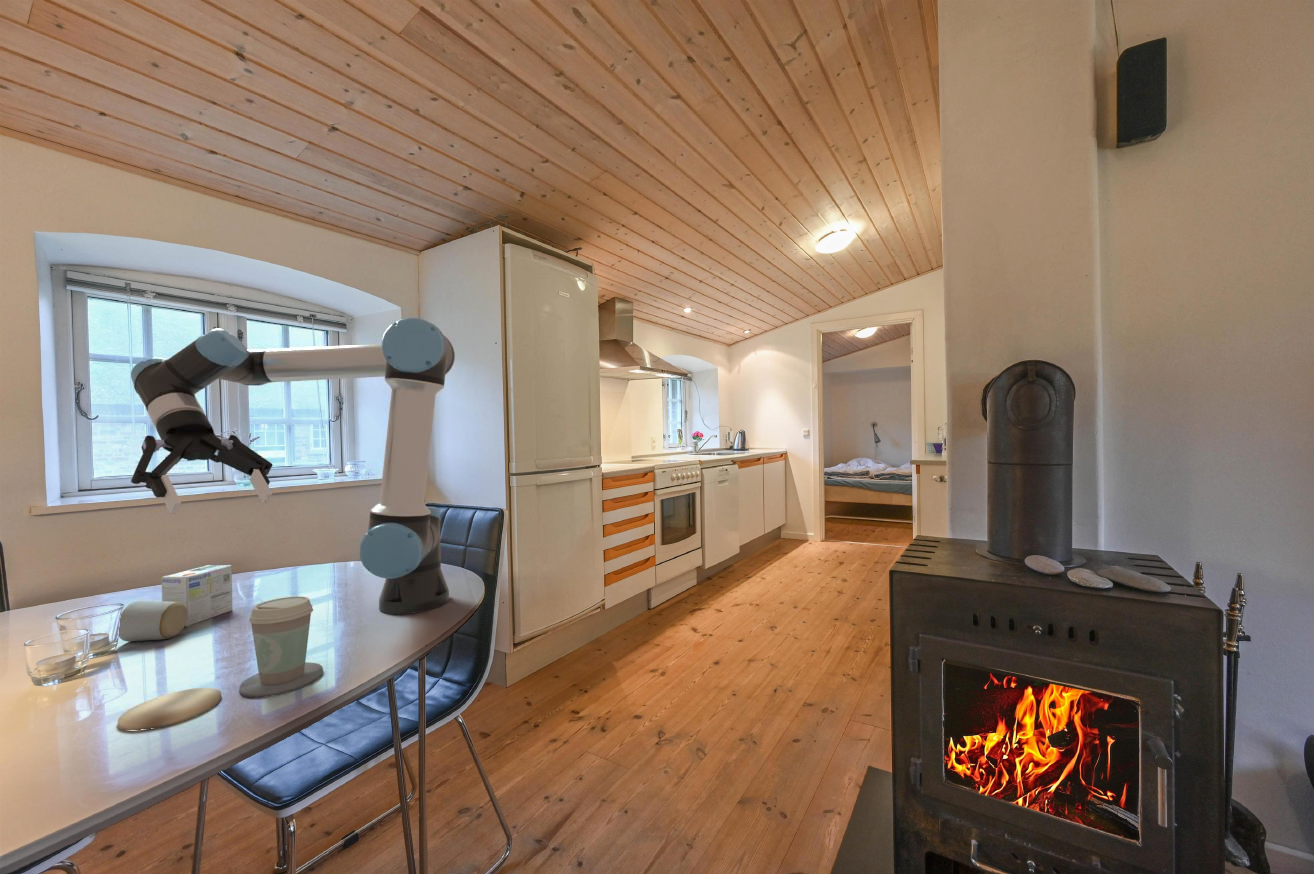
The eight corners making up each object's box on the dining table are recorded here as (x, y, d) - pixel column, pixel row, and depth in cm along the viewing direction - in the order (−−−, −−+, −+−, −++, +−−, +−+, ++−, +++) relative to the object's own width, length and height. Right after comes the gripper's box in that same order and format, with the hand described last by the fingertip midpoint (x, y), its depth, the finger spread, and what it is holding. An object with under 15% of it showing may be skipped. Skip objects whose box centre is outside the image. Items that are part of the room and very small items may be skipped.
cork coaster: (226, 684, 83) (226, 681, 83) (214, 714, 74) (214, 710, 74) (131, 705, 77) (131, 701, 77) (105, 740, 68) (105, 735, 68)
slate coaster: (322, 660, 92) (322, 657, 92) (323, 684, 83) (323, 680, 83) (244, 676, 86) (244, 673, 86) (234, 704, 77) (234, 700, 77)
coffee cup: (244, 678, 84) (243, 604, 84) (306, 661, 90) (305, 592, 90) (255, 694, 78) (254, 615, 78) (320, 675, 84) (319, 601, 84)
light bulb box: (208, 609, 122) (208, 564, 122) (234, 610, 121) (233, 564, 121) (160, 626, 112) (159, 576, 112) (187, 626, 111) (186, 576, 111)
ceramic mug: (163, 644, 101) (163, 604, 101) (115, 647, 100) (115, 607, 100) (202, 626, 112) (202, 590, 112) (159, 628, 110) (159, 592, 110)
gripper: (250, 436, 111) (292, 508, 104) (82, 437, 89) (122, 529, 82) (262, 410, 109) (307, 482, 102) (93, 405, 86) (136, 496, 79)
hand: (225, 503), depth 92 cm, fingers open, 13 cm apart
